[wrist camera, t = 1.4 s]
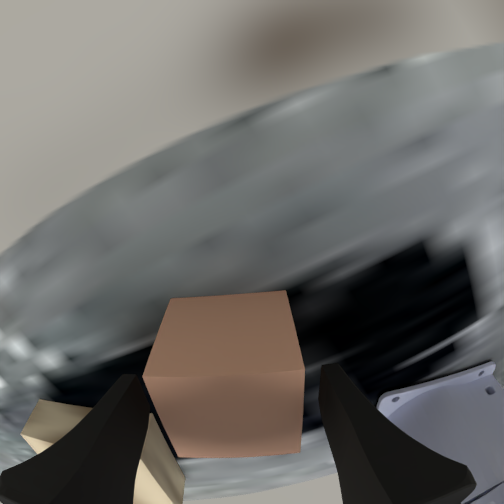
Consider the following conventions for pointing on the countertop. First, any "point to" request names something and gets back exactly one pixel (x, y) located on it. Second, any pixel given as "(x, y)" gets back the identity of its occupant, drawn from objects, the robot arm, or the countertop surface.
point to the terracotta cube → (228, 376)
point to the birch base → (151, 461)
